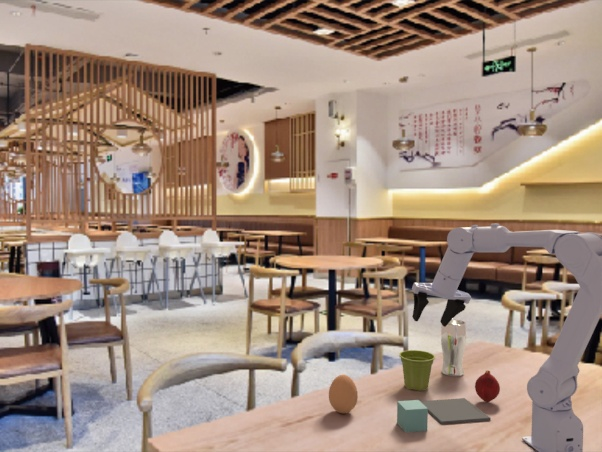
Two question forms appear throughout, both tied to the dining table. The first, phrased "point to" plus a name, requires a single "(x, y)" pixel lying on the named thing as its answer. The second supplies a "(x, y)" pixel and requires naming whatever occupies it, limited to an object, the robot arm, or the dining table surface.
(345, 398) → the egg
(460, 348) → the beer glass
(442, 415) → the mat
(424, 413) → the cube
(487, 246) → the robot arm
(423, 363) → the plant pot
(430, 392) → the dining table surface
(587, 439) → the dining table surface
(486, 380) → the onion
